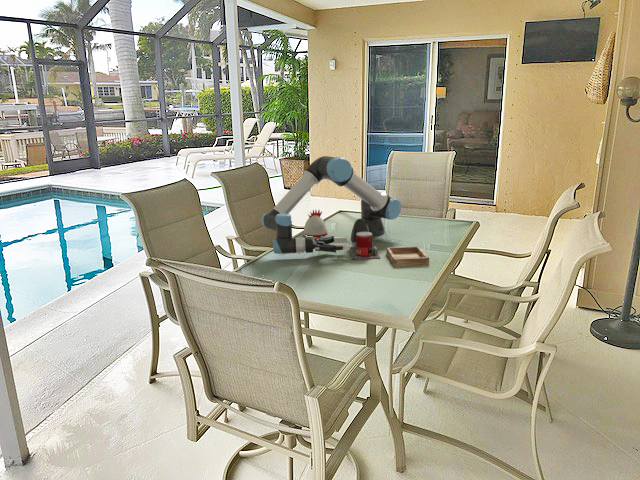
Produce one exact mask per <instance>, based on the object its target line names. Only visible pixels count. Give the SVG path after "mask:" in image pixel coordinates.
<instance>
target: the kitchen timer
mask: <svg viewBox="0 0 640 480" xmlns="http://www.w3.org/2000/svg"><path fill="white" fill-rule="evenodd" d="M322 213H323V211H320V209H318V211H317V209H315V210H314V209H312V211H310V214H309V213H308V214H307V216H308V219H307V220H306V222H305V224H304V229H303V232H304V234H305V235H307V236H313V237H320V236H325V235H327V236H328V228H327V225H326V221H325V220H324V219H323V218H322V217H321V216H322ZM304 234H303V235H304ZM325 237H326V236H325ZM320 238H321V237H320Z"/></svg>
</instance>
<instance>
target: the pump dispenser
mask: <svg viewBox="0 0 640 480" xmlns="http://www.w3.org/2000/svg"><path fill="white" fill-rule="evenodd" d="M358 232H369V229H368V226H367V223H366V222H365V220H364V218H363V219H361V218H360V217H359V218H358V219H356V220H355V221H354V224H353V226H352V229H351V234H350V241H351V245H352V246H353V247H354V248H356V233H358Z"/></svg>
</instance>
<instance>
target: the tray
mask: <svg viewBox="0 0 640 480" xmlns="http://www.w3.org/2000/svg"><path fill="white" fill-rule="evenodd" d="M386 256H387V257H388V259H389V260H390V262H391V263H392V266H393V267H413V266H416V267H417V266H430V257H429V255H427V253H426V252H425V251H424V250H423V249H422V248H421V247H420V246H418V245H417V246H416V245H415V246H396V247H393V246H392V247H391V246H390V247H386Z"/></svg>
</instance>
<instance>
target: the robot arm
mask: <svg viewBox="0 0 640 480" xmlns="http://www.w3.org/2000/svg"><path fill="white" fill-rule="evenodd" d="M323 180H328V181H331V182H332V183H334V184H335V185H337V186H338V187H344V188H345V189H347V190H348V191H350V192H351V193H353V194H354V195H356V196H357V197H358V198H359V199H360V205H361V206H360V211H361V213H360V214H361V215H360V217H361V219H363V218H364V220H365V222H366V223H367V226H368V229H369V232H371V233H372V236H380V235H383V234H385V232H386V231H385V226H384V223H383V219H385V220H392V221H394V220H395V219H397V218H398V217H399V216H400V214H401V212H402V203H401V201H400V200H399V199H398V198H395V197H391V196H390V195H388V194H387V193H386V192H385V191H379V190H378V189H376V188H374V187H373V185H371V184H369V182H367V181H366V180H365V179H363V178H362V177H361V176H359V175H358V174H357V173H355V171H354V168H353V167H352V164H351V162H350V161H349V160H348V159H347V158H345V157H341V156H328V155H324V156H323V155H322V156H319V157H318V158H316V159H315V160H313V162H311V163H310V164H309V165H308V166H307V167H306V169H305V170H303V175H302V176H301V177H300V178H299V179H298V180H297V182H296V183H295V184H294V185H293V186H292V187H291V188H290V189H289V190H288V191H287V193H286V194H285V195H284V196H283V197H282V198H281V199H280V200H279V202H277V204H276V205H275V206H274V207H273V208H272V210H270V211H269V212H266V213H264V214H262V216H261V219H260V223H261V225H262V226H263V227H265V228H266V229H268V230H272V231H275V232H276V237H275V238H274V239H272V250H273V254H275V255H287V254H298V255H300V254H304V253H306V254H310V253H311V254H312V253H314V251H315V252H326V253H334V254H336V253H337V251H338V252H339V251H351V250H350V249H351V248H350V247H351V245H350V243H348V237H347V236H340V237H339V236H338V237H335V236H334V235H331V236H327V237H326V236H325V237H320V238H312V237H293V227H292V226H293V225H292V224H293V221H292V215H291V214H290V213H291V211H293V209H294V208H295V207H297V205H298V203H300V202H301V201H302V199H303V198H304V197H305V195H307V193H308V192H309V191H311V189H312V188H313V187H314V186H315V185H318V184H319V183H320V182H321V181H323ZM333 243H334V245H333Z"/></svg>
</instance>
